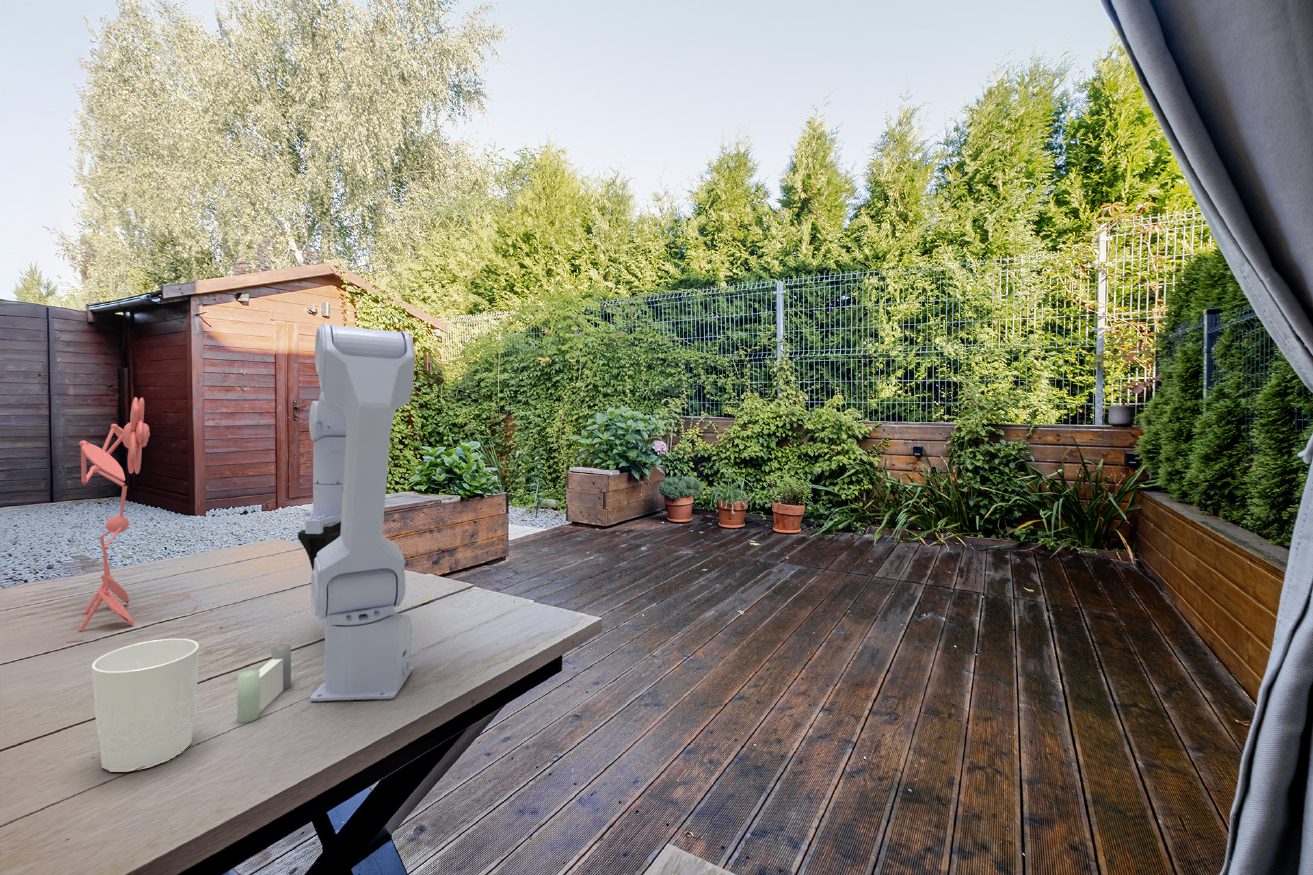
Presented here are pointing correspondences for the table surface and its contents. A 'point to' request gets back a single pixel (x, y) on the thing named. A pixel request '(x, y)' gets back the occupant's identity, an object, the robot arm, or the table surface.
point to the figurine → (134, 440)
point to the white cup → (145, 701)
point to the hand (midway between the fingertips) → (334, 571)
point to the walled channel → (263, 684)
